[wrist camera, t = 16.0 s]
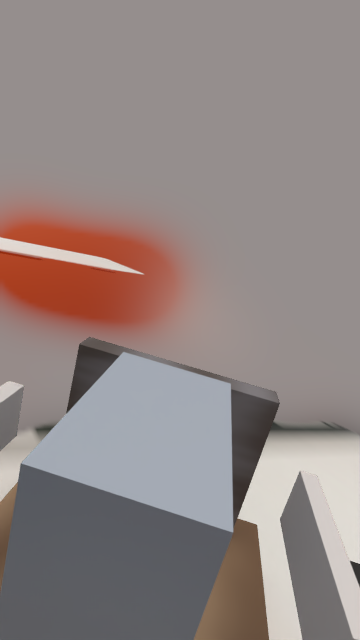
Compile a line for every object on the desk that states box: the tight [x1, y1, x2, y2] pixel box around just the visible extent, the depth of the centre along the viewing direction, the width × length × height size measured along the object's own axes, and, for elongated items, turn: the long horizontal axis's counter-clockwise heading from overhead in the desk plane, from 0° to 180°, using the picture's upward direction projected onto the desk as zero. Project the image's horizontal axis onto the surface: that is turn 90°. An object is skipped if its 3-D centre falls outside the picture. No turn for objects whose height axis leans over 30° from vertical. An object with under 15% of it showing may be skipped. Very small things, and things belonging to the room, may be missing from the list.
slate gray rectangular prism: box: [0, 352, 233, 640], centre depth 13 cm, size 5×8×12 cm, turn 172°
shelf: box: [0, 337, 280, 640], centre depth 16 cm, size 16×16×13 cm
